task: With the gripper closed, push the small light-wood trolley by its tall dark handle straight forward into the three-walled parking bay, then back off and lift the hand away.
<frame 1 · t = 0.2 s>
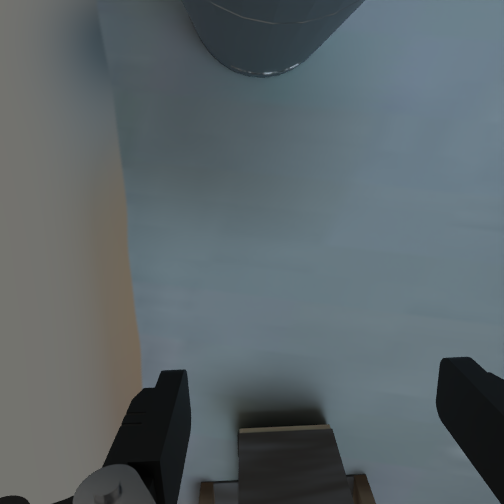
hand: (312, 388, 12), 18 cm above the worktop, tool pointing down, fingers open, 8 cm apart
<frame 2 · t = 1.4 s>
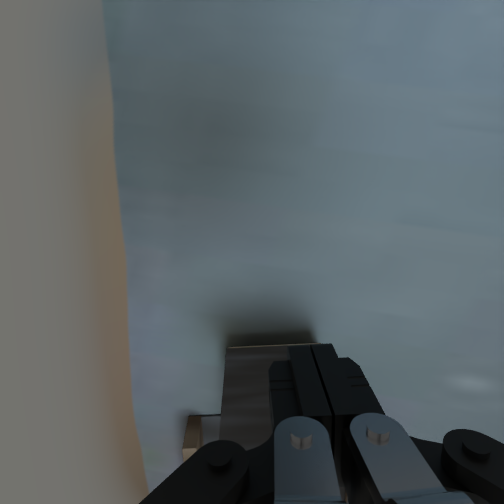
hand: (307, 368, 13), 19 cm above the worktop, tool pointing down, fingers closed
parking bay: (276, 486, 38), on the worktop
trolley: (282, 446, 27), point 8 cm above the worktop, slide at 0.0 cm
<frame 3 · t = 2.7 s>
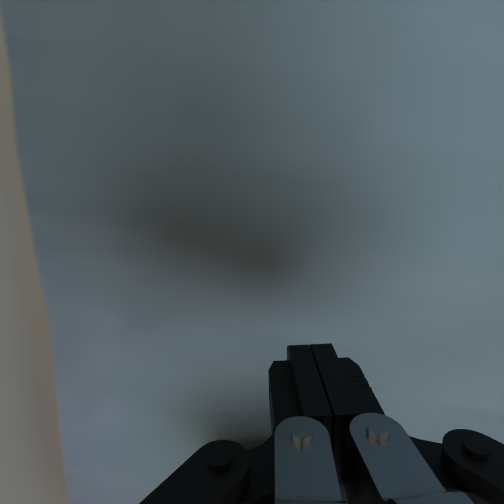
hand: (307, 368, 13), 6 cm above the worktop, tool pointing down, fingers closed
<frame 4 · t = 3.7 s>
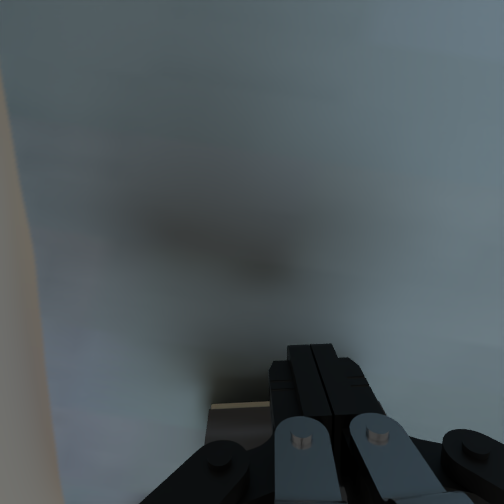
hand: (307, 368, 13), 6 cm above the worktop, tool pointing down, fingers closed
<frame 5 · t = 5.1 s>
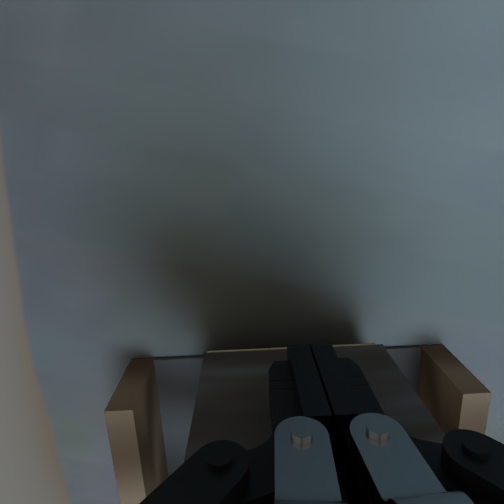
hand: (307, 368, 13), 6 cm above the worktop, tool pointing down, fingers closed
parking bay: (289, 486, 22), on the worktop
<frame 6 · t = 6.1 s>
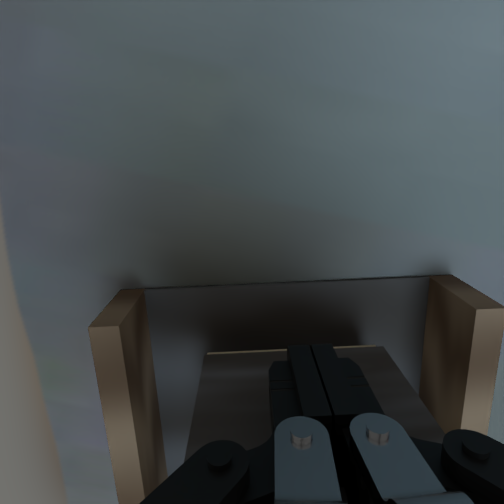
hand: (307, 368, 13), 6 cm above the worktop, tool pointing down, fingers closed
parking bay: (289, 433, 21), on the worktop
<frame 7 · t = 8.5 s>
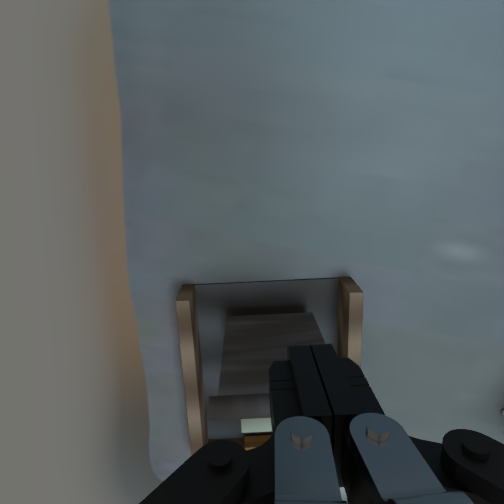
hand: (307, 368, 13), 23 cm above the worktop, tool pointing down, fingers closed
parking bay: (269, 362, 39), on the worktop
trolley: (275, 399, 31), point 8 cm above the worktop, slide at 10.9 cm
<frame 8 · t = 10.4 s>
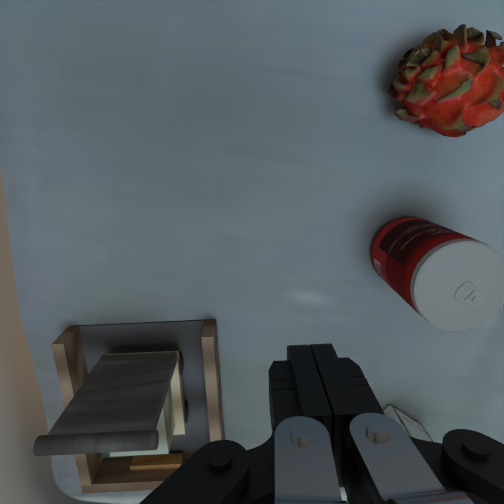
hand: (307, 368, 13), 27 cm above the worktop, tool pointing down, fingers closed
canned food: (404, 250, 40), on the worktop
parking bay: (151, 391, 44), on the worktop
dragon fruit: (436, 90, 36), on the worktop
trolley: (130, 429, 36), point 8 cm above the worktop, slide at 10.9 cm
syrup box: (391, 427, 46), on the worktop
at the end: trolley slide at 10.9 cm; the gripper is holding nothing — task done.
